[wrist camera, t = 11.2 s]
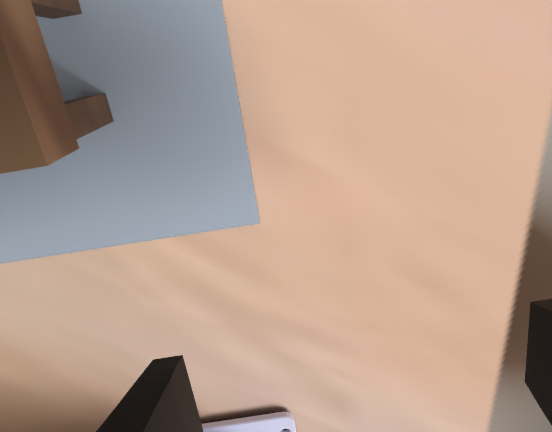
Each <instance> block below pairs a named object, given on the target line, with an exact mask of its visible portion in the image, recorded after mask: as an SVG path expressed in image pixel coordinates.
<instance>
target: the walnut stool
mask: <svg viewBox="0 0 552 432" xmlns="http://www.w3.org/2000/svg"><path fill="white" fill-rule="evenodd" d="M78 14H82V11H81V8H80V4H79V1H78V0H0V174H3V173H9V172H15V171H21V170H26V169H32V168H38V167H44V166H48V165H50V164H52V163H54V162H55V161H57V160H59V159H61V158H63V157H65V156H66V155H68V154H70V153H72V152H74V151H76V150H77V149H79V146H78V143H77V140H76V139H79V138H81V137H83V136H85V135H87V134H89V133H91V132H93V131H95V130H97V129H99V128H101V127H103V126H105V125H107V124H109V123H111V122H114V120H113V117H112V113H111V110H110V106H109V103H108V100H107V96H106V93H104V94H98V95H93V96H87V97H81V98H76V99H72V100H68V101H64V100H63V97H62V94H61V91H60V88H59V85H58V82H57V79H56V76H55V73H54V70H53V67H52V64H51V61H50V58H49V54H48V51H47V48H46V45H45V42H44V39H43V36H42V33H41V30H40V27H39V24H38V21H37V18H36V16H39V17H44V18H50V19H56V18H61V17H67V16H73V15H78Z"/></svg>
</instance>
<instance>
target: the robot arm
mask: <svg viewBox="0 0 552 432" xmlns="http://www.w3.org/2000/svg"><path fill="white" fill-rule="evenodd" d="M525 383H526V384H527V386H528V387H529V389H530V391H531V393H532V394H533V396H534V398H535V399H536V401H537V403H538V405H539V406H540V408H541V409H542V411H543V413H544V414H545V416H546V417H547V419H548V420H549V422H550V423H551V425H552V299H548V300H541V301H534V302H531V304H530V318H529V331H528V344H527V359H526V372H525ZM283 429H288V430H283ZM96 432H296V427H295V422H294V417H293V415H292V414H291V413H289V412H277V413H271V414H264V415H257V416H251V417H244V418H238V419H231V420H224V421H218V422H211V423H204V424H201V421H200V417H199V413H198V410H197V406H196V402H195V399H194V395H193V392H192V388H191V384H190V381H189V377H188V373H187V370H186V366H185V363H184V359H183V355H180V356H174V357H167V358H161V359H154V360H153V361H152V362H151V363H150V364H149V366H148V367H147V368H146V369H145V371H144V372H143V373H142V374H141V376H140V377H139V378H138V380H137V381H136V382H135V383H134V385H133V386H132V387H131V388H130V390H129V391H128V392H127V394H126V395H125V396H124V397H123V399H122V400H121V401H120V403H119V404H118V405H117V406H116V408H115V409H114V410H113V411H112V413H111V414H110V415H109V416H108V418H107V419H106V420H105V421H104V423H103V424H102V425H101V426H100V428H99V429H98V430H97V431H96Z"/></svg>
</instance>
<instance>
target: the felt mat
mask: <svg viewBox="0 0 552 432" xmlns="http://www.w3.org/2000/svg"><path fill="white" fill-rule="evenodd" d="M78 1H79V4H80V8H81V11H82V14H78V15H73V16H67V17H61V18H56V19H50V18H44V17H39V16H36V18H37V21H38V24H39V27H40V30H41V33H42V36H43V39H44V42H45V45H46V48H47V51H48V54H49V58H50V61H51V64H52V67H53V70H54V73H55V76H56V79H57V82H58V85H59V88H60V91H61V94H62V97H63V100H64V101H68V100H72V99H76V98H81V97H87V96H93V95H98V94H104V93H106V96H107V100H108V103H109V106H110V110H111V113H112V117H113V120H114V122H111V123H109V124H107V125H105V126H103V127H101V128H99V129H97V130H95V131H93V132H91V133H89V134H87V135H85V136H83V137H81V138H79V139H76V140H77V143H78V146H79V149H77V150H76V151H74V152H72V153H70V154H68V155H66V156H65V157H63V158H61V159H59V160H57V161H55V162H54V163H52V164H50V165H48V166H44V167H38V168H32V169H26V170H21V171H15V172H9V173H3V174H0V264H1V263H8V262H14V261H20V260H27V259H33V258H40V257H46V256H53V255H59V254H66V253H72V252H79V251H85V250H91V249H98V248H104V247H111V246H117V245H124V244H130V243H137V242H143V241H149V240H156V239H162V238H169V237H175V236H182V235H188V234H195V233H201V232H208V231H214V230H220V229H227V228H233V227H240V226H246V225H253V224H259V223H260V219H259V213H258V207H257V201H256V196H255V190H254V184H253V178H252V173H251V167H250V161H249V155H248V149H247V144H246V138H245V132H244V126H243V121H242V115H241V109H240V103H239V98H238V92H237V86H236V80H235V75H234V69H233V63H232V57H231V52H230V46H229V40H228V34H227V29H226V23H225V17H224V11H223V6H222V0H78Z"/></svg>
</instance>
